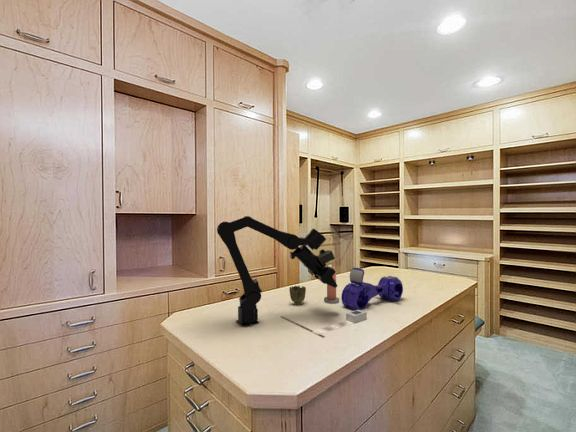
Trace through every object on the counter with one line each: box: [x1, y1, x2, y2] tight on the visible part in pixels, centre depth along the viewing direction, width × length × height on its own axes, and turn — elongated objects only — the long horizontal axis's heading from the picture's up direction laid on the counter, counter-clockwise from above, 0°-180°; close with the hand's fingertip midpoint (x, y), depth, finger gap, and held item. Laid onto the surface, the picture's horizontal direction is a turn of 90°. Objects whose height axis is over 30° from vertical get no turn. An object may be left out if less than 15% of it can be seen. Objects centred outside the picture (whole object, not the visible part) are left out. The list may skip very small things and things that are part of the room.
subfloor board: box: [280, 315, 354, 339], centre depth 110 cm, size 26×24×1 cm
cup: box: [288, 285, 307, 306], centre depth 128 cm, size 8×7×8 cm
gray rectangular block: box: [345, 310, 368, 324], centre depth 108 cm, size 7×4×3 cm, turn 127°
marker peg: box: [323, 267, 340, 305], centre depth 114 cm, size 6×6×13 cm
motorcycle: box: [340, 267, 404, 311], centre depth 130 cm, size 35×14×18 cm, turn 125°
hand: (334, 285), depth 115 cm, fingers closed on marker peg, 4 cm apart
